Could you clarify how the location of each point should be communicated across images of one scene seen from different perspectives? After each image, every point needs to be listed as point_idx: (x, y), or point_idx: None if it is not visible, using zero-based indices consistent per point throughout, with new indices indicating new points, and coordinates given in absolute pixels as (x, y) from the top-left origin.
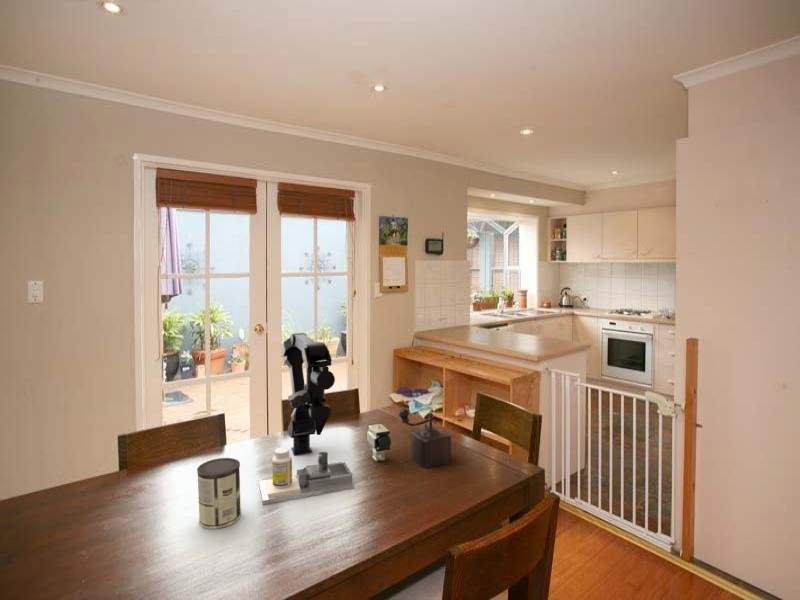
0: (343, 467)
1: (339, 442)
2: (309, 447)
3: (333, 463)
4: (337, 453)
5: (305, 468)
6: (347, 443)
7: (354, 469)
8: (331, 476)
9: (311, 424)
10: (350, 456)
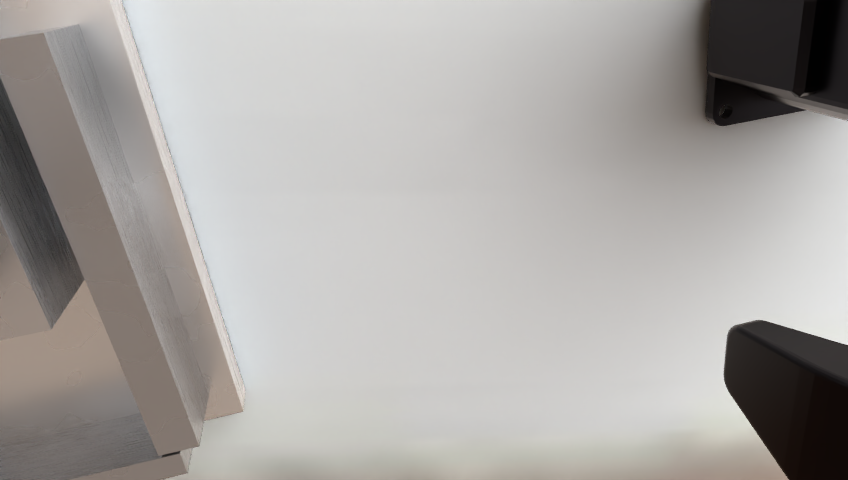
0: (142, 440)
1: None
2: (783, 102)
3: (164, 376)
4: (620, 333)
5: (17, 60)
6: None
7: (277, 459)
8: None
9: (749, 333)
10: (529, 425)
